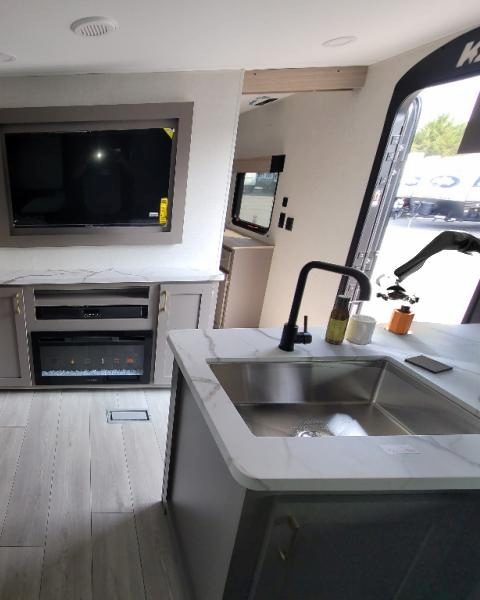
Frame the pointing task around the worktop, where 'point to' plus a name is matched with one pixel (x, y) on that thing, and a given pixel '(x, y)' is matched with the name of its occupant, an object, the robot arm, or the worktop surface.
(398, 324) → the orange spice jar
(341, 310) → the sauce bottle
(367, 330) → the mug
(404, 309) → the stand
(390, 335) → the worktop surface
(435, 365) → the mat
